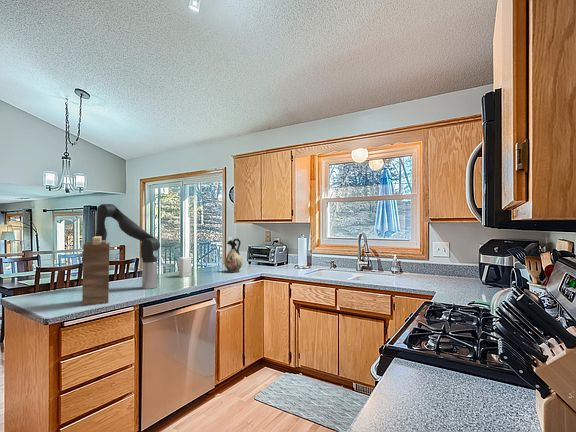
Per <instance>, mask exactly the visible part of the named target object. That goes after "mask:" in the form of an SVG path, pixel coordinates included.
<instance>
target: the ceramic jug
mask: <svg viewBox="0 0 576 432" xmlns="http://www.w3.org/2000/svg"><path fill="white" fill-rule="evenodd" d="M236 242H237V243H238V244H237V243H236ZM226 244H227V245H229V246H231V248H230V250H229V252H228V253H227V255H226V256H225V259H224V266H225V268H226V270H227V271H228V273H239V272H240V270H241V268H242V266H243V258H242V257H241V254H240V251H239V250H240V247H241V239H239V238H233V239H230V240H229V241H227V242H226ZM236 247H237V248H236Z"/></svg>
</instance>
